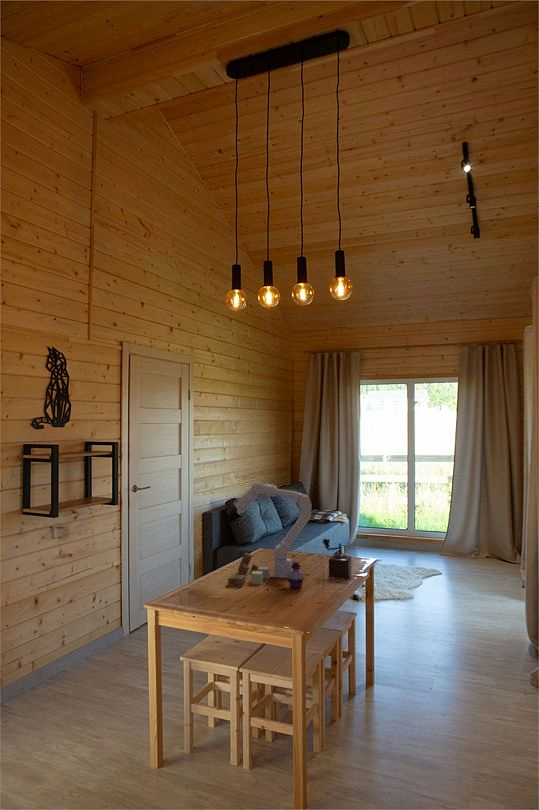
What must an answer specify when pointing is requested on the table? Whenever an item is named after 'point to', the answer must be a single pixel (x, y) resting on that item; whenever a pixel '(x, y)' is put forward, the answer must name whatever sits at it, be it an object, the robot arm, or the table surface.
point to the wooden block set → (246, 565)
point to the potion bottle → (295, 576)
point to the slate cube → (264, 572)
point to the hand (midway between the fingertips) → (228, 520)
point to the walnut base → (236, 580)
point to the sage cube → (256, 577)
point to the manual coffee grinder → (338, 563)
